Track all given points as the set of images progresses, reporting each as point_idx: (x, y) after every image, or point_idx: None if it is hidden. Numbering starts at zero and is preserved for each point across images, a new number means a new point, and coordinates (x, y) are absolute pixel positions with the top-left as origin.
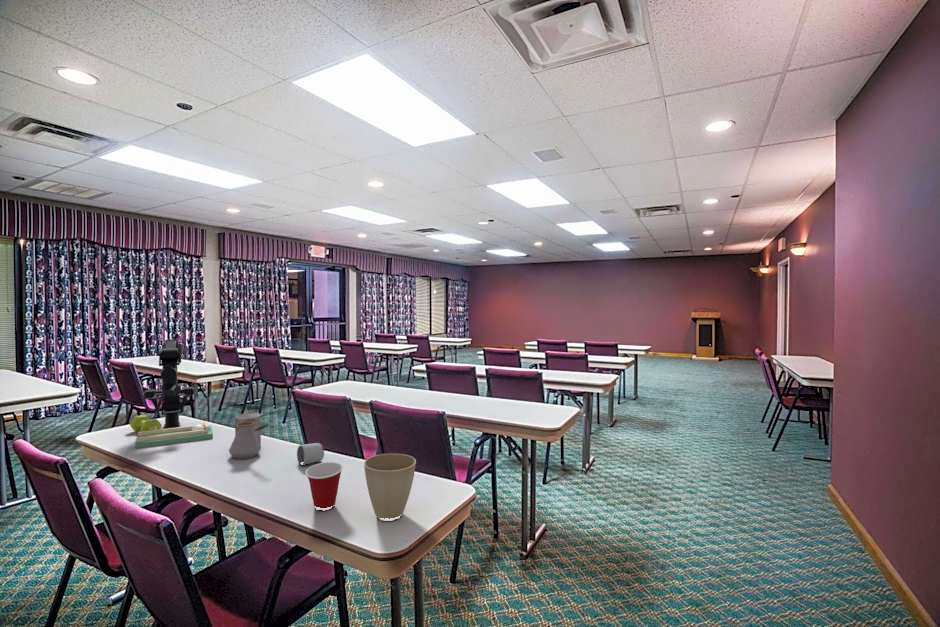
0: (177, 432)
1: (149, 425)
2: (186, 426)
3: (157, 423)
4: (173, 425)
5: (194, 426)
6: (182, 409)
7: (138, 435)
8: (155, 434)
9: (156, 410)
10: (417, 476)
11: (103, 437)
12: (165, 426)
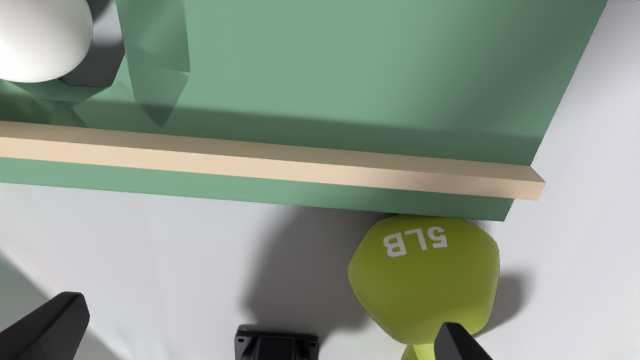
0: (230, 93)
1: (452, 261)
2: (147, 167)
3: (385, 280)
4: (268, 338)
5: (7, 12)
6: (53, 298)
7: (530, 167)
8: (409, 134)
9: (485, 352)
10: None
11: (621, 316)
12: (310, 346)
